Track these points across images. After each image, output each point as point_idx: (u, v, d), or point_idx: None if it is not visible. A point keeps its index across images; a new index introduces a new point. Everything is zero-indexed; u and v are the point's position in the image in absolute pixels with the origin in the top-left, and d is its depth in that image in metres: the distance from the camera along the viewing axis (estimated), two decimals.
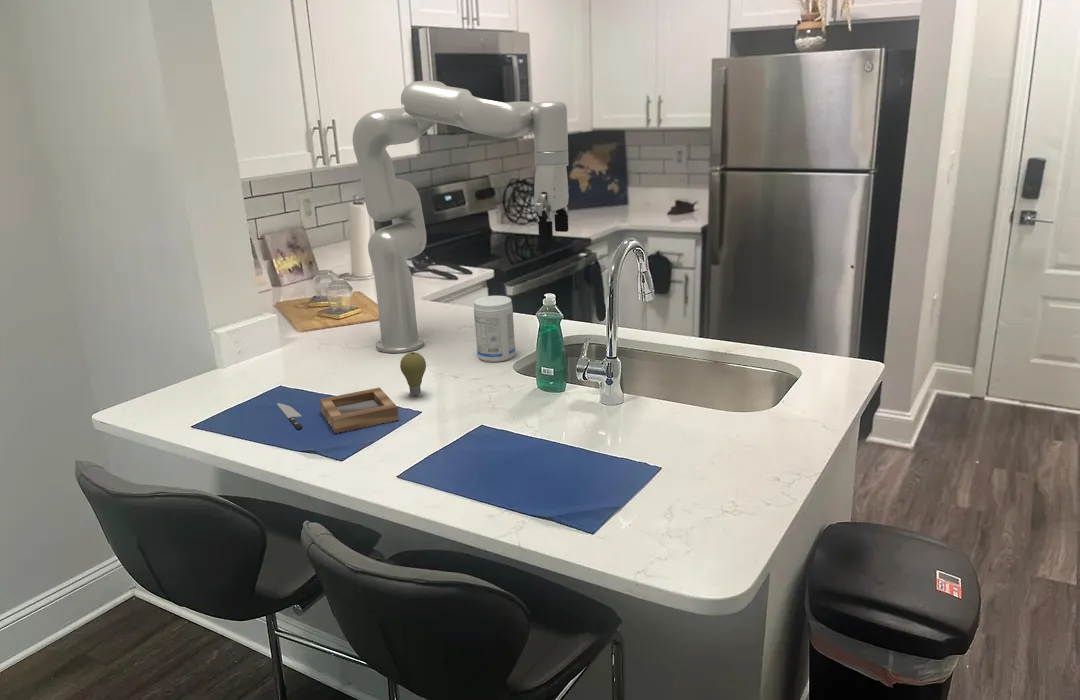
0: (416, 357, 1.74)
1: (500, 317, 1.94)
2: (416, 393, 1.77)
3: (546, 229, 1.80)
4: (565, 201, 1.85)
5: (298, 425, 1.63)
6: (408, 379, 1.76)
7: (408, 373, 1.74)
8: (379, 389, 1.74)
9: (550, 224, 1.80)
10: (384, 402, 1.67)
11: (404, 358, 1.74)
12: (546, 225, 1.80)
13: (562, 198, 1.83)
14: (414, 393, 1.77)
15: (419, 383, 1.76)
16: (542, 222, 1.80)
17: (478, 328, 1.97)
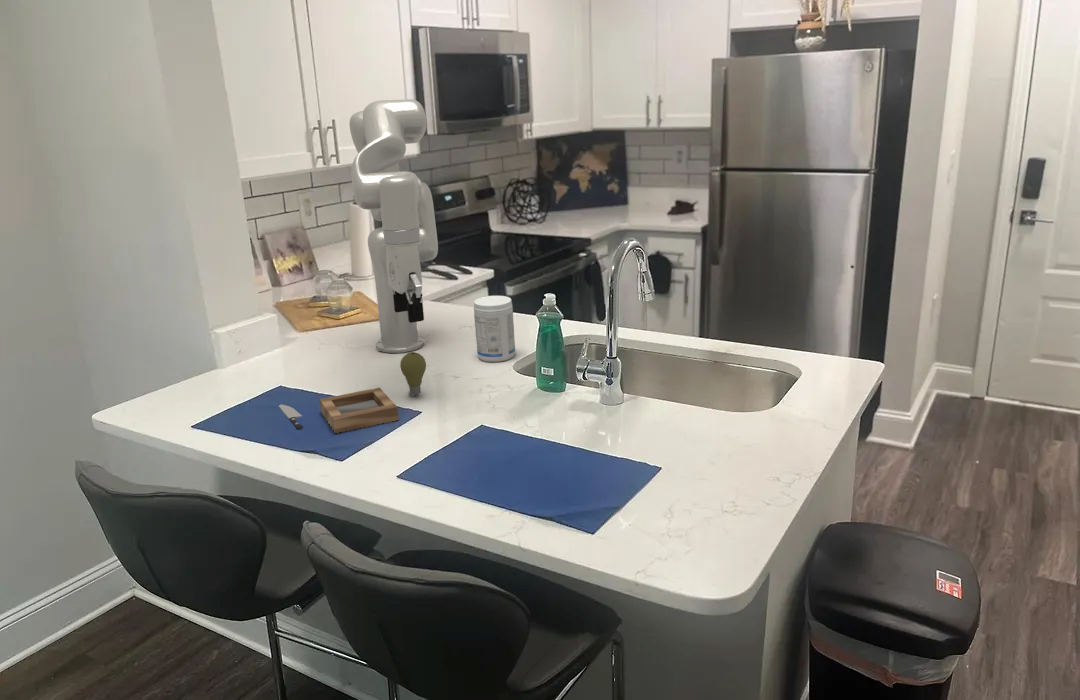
0: (416, 357, 1.74)
1: (500, 317, 1.94)
2: (416, 393, 1.77)
3: (419, 311, 1.67)
4: None
5: (299, 425, 1.63)
6: (408, 379, 1.76)
7: (408, 373, 1.74)
8: (379, 389, 1.74)
9: (422, 305, 1.68)
10: (384, 402, 1.67)
11: (404, 358, 1.74)
12: (419, 307, 1.67)
13: None
14: (414, 393, 1.77)
15: (419, 383, 1.76)
16: (415, 304, 1.66)
17: (478, 328, 1.97)
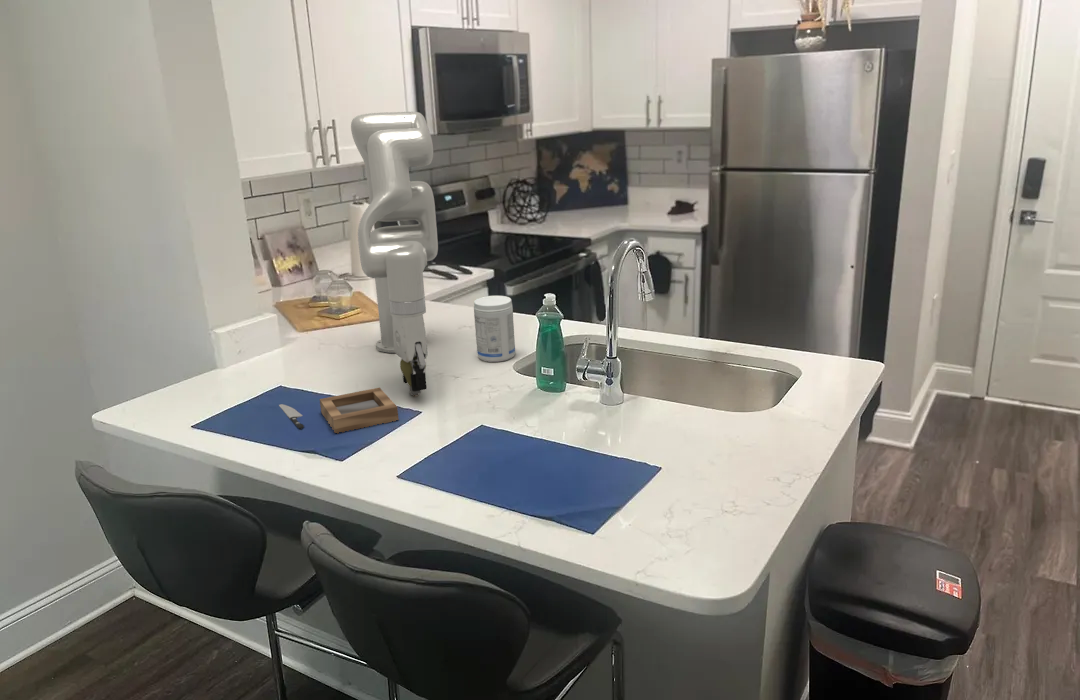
0: (416, 357, 1.74)
1: (500, 317, 1.94)
2: (416, 393, 1.77)
3: (422, 380, 1.74)
4: None
5: (300, 425, 1.63)
6: (408, 379, 1.76)
7: (408, 372, 1.74)
8: (379, 389, 1.74)
9: (424, 375, 1.74)
10: (384, 402, 1.67)
11: None
12: (422, 376, 1.74)
13: None
14: (414, 393, 1.77)
15: None
16: (418, 374, 1.73)
17: (478, 328, 1.97)
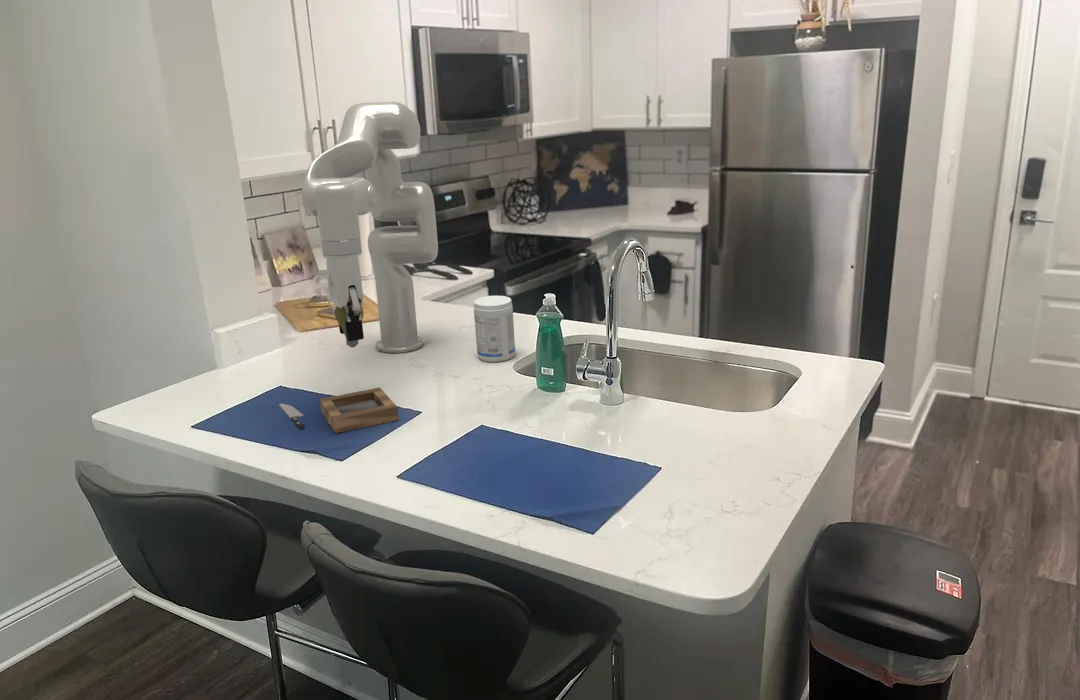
0: None
1: (500, 317, 1.94)
2: (353, 344, 1.63)
3: (358, 329, 1.59)
4: None
5: (300, 425, 1.63)
6: (343, 328, 1.61)
7: (343, 320, 1.59)
8: (379, 389, 1.74)
9: (361, 323, 1.60)
10: (384, 402, 1.67)
11: None
12: (358, 325, 1.59)
13: None
14: (351, 344, 1.62)
15: None
16: (353, 322, 1.58)
17: (478, 328, 1.97)
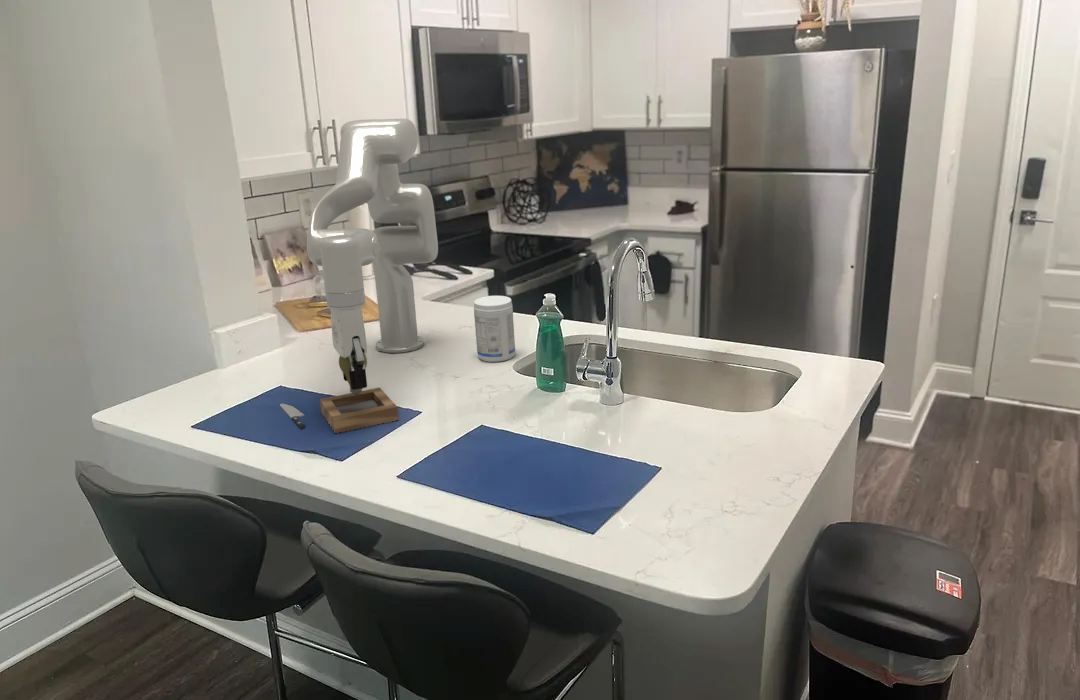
0: None
1: (500, 317, 1.94)
2: (356, 391, 1.65)
3: (362, 378, 1.62)
4: None
5: (301, 424, 1.63)
6: (347, 376, 1.64)
7: (347, 369, 1.62)
8: (379, 389, 1.74)
9: (364, 372, 1.63)
10: (384, 402, 1.67)
11: None
12: (361, 373, 1.62)
13: None
14: (355, 391, 1.65)
15: None
16: (357, 371, 1.61)
17: (478, 328, 1.97)
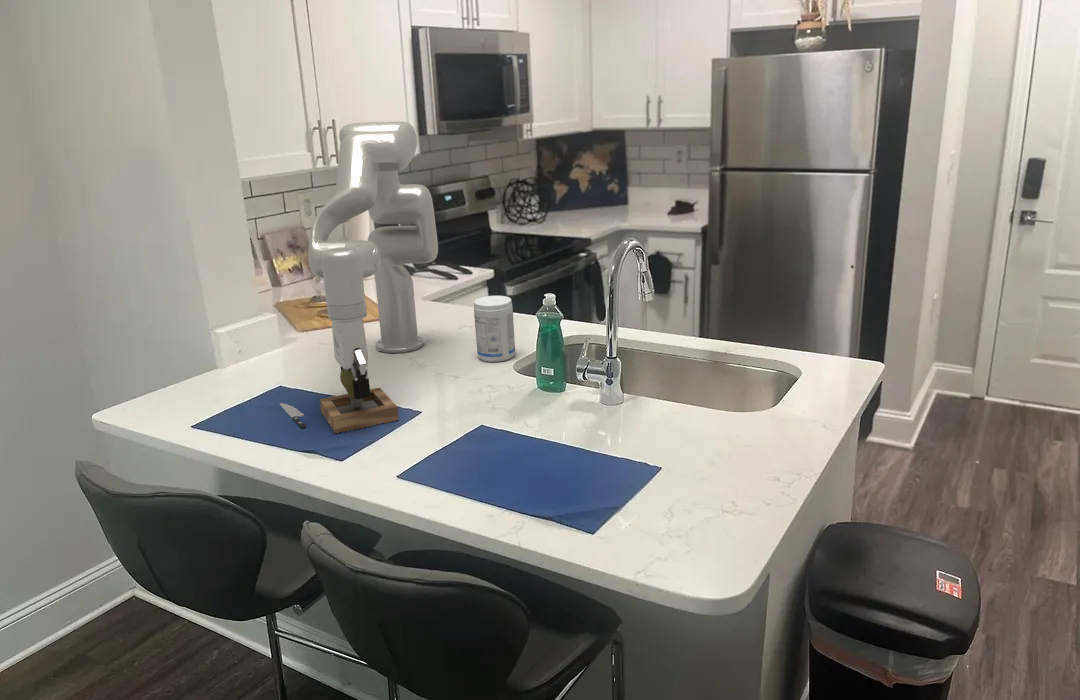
0: None
1: (500, 317, 1.94)
2: (357, 406, 1.68)
3: (365, 387, 1.61)
4: None
5: (302, 424, 1.63)
6: (348, 391, 1.66)
7: (348, 385, 1.64)
8: (379, 389, 1.74)
9: (368, 381, 1.62)
10: (384, 402, 1.67)
11: (344, 369, 1.65)
12: (365, 383, 1.61)
13: None
14: (356, 406, 1.67)
15: None
16: (360, 381, 1.60)
17: (478, 328, 1.97)
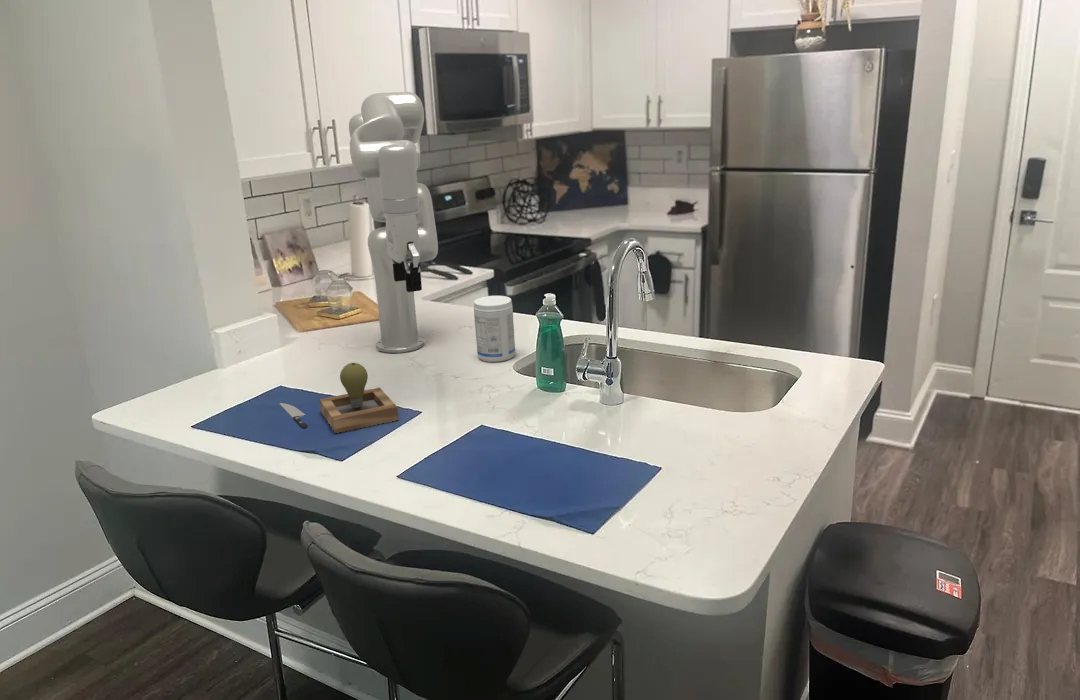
0: (356, 368, 1.65)
1: (500, 317, 1.94)
2: (357, 406, 1.68)
3: (417, 280, 1.68)
4: None
5: (303, 424, 1.64)
6: (348, 391, 1.66)
7: (348, 384, 1.64)
8: (379, 389, 1.74)
9: (419, 275, 1.68)
10: (384, 402, 1.67)
11: (344, 369, 1.65)
12: (417, 276, 1.68)
13: None
14: (356, 406, 1.68)
15: (360, 395, 1.67)
16: (412, 274, 1.67)
17: (478, 328, 1.97)
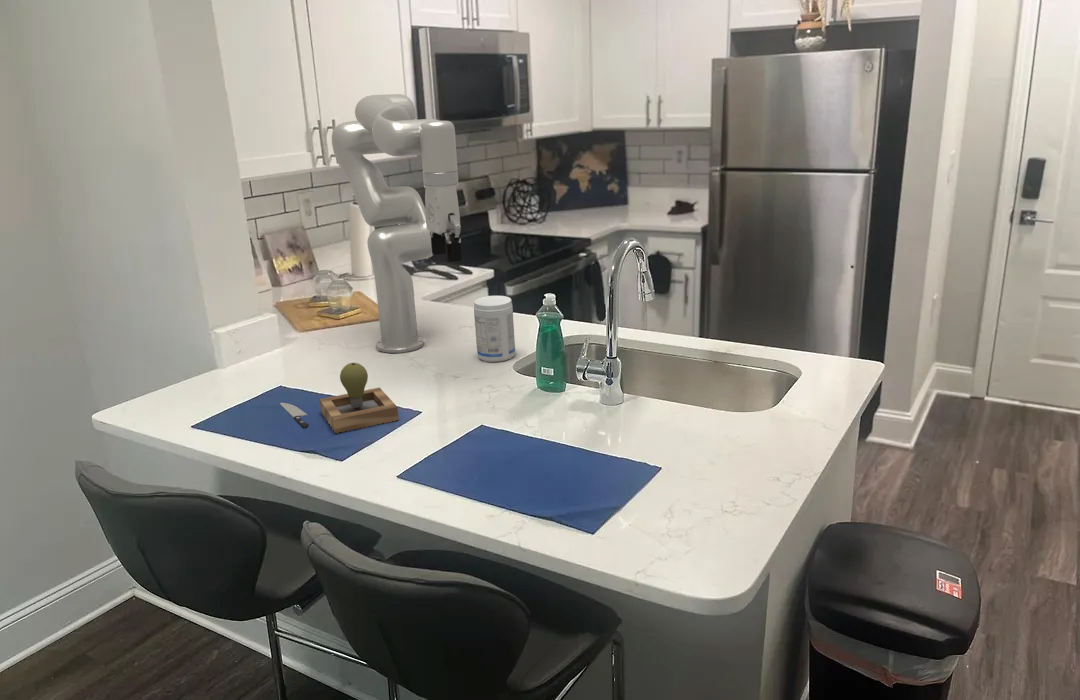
0: (356, 368, 1.65)
1: (500, 317, 1.94)
2: (357, 406, 1.68)
3: (457, 251, 1.75)
4: None
5: (304, 424, 1.64)
6: (348, 391, 1.66)
7: (348, 384, 1.64)
8: (379, 389, 1.74)
9: (459, 245, 1.76)
10: (384, 402, 1.67)
11: (344, 369, 1.65)
12: (457, 247, 1.75)
13: None
14: (356, 406, 1.68)
15: (360, 395, 1.67)
16: (453, 244, 1.74)
17: (478, 328, 1.97)
